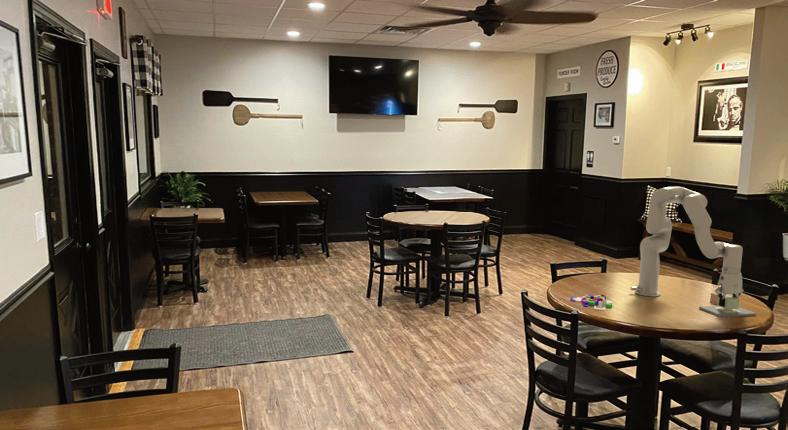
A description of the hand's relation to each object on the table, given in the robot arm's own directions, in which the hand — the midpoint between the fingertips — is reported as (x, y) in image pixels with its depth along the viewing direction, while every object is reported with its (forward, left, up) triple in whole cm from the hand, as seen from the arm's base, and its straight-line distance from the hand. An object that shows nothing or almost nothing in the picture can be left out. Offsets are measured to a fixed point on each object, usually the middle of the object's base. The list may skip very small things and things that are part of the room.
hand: (727, 305), depth 278 cm
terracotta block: (+8, +14, -4) cm, 16 cm away
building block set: (-58, +26, -4) cm, 64 cm away
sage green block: (0, 0, -1) cm, 1 cm away
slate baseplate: (0, 0, -3) cm, 3 cm away
